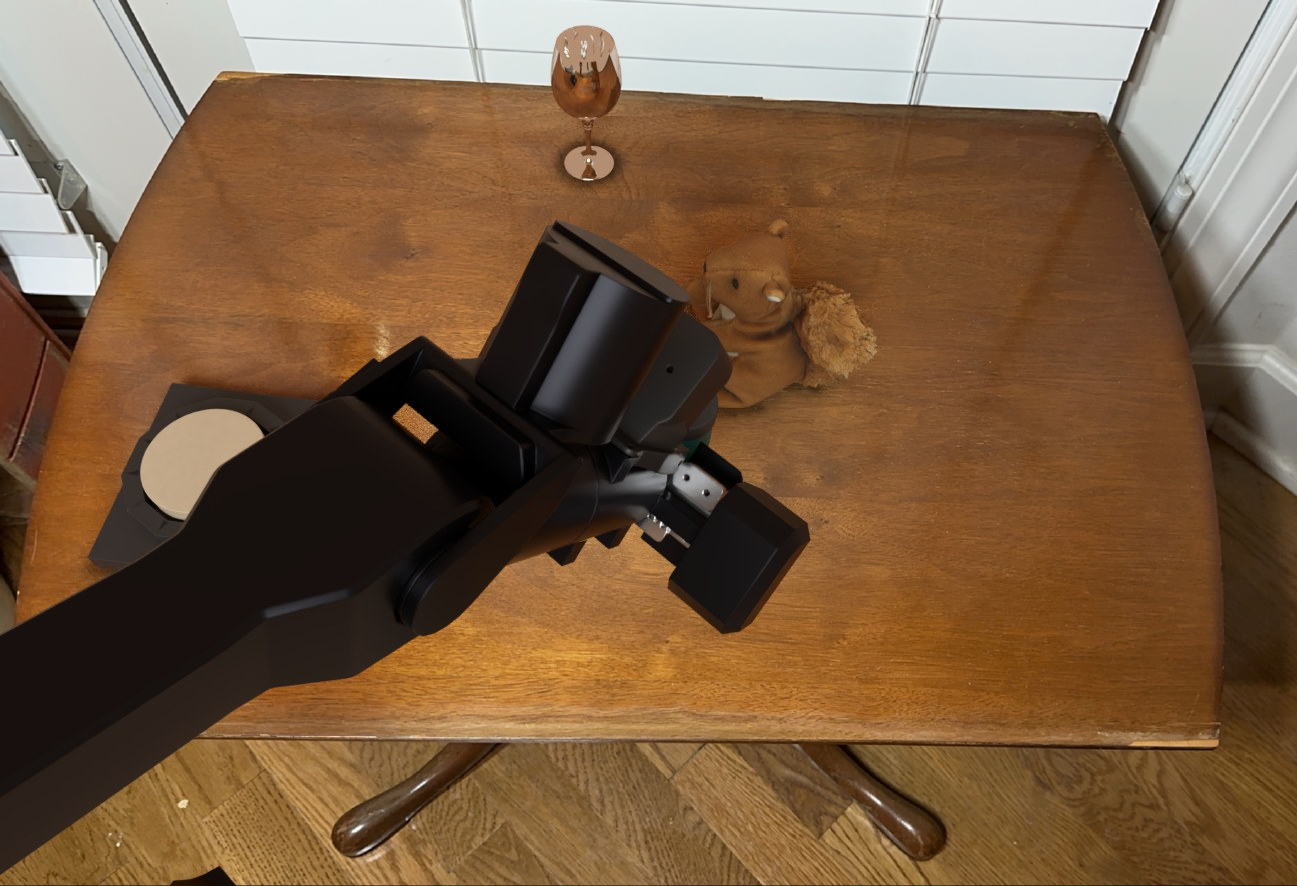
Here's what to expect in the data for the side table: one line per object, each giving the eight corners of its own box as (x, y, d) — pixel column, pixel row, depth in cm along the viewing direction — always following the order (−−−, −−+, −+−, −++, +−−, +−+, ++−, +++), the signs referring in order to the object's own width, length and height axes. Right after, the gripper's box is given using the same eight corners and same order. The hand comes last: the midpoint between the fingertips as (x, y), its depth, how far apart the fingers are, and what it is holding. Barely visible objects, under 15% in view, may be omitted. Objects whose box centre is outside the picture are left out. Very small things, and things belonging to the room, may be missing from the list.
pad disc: (248, 529, 60) (240, 520, 58) (129, 514, 60) (119, 504, 59) (288, 426, 64) (282, 415, 63) (176, 412, 64) (168, 401, 63)
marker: (698, 546, 57) (722, 428, 45) (643, 549, 56) (653, 430, 45) (693, 498, 59) (714, 372, 47) (640, 500, 58) (648, 374, 47)
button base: (275, 590, 60) (259, 572, 58) (98, 567, 61) (75, 548, 58) (338, 414, 67) (327, 391, 65) (180, 394, 68) (163, 370, 65)
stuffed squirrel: (686, 301, 74) (698, 176, 63) (861, 330, 73) (905, 208, 62) (664, 402, 69) (673, 286, 58) (852, 435, 68) (899, 322, 56)
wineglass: (620, 187, 80) (620, 68, 70) (554, 185, 80) (545, 66, 70) (622, 142, 83) (622, 22, 73) (559, 140, 83) (550, 19, 73)
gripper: (828, 458, 33) (913, 430, 46) (469, 198, 39) (639, 243, 53) (671, 686, 36) (793, 597, 50) (365, 415, 42) (550, 403, 56)
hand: (692, 451), depth 52 cm, fingers closed on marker, 3 cm apart
